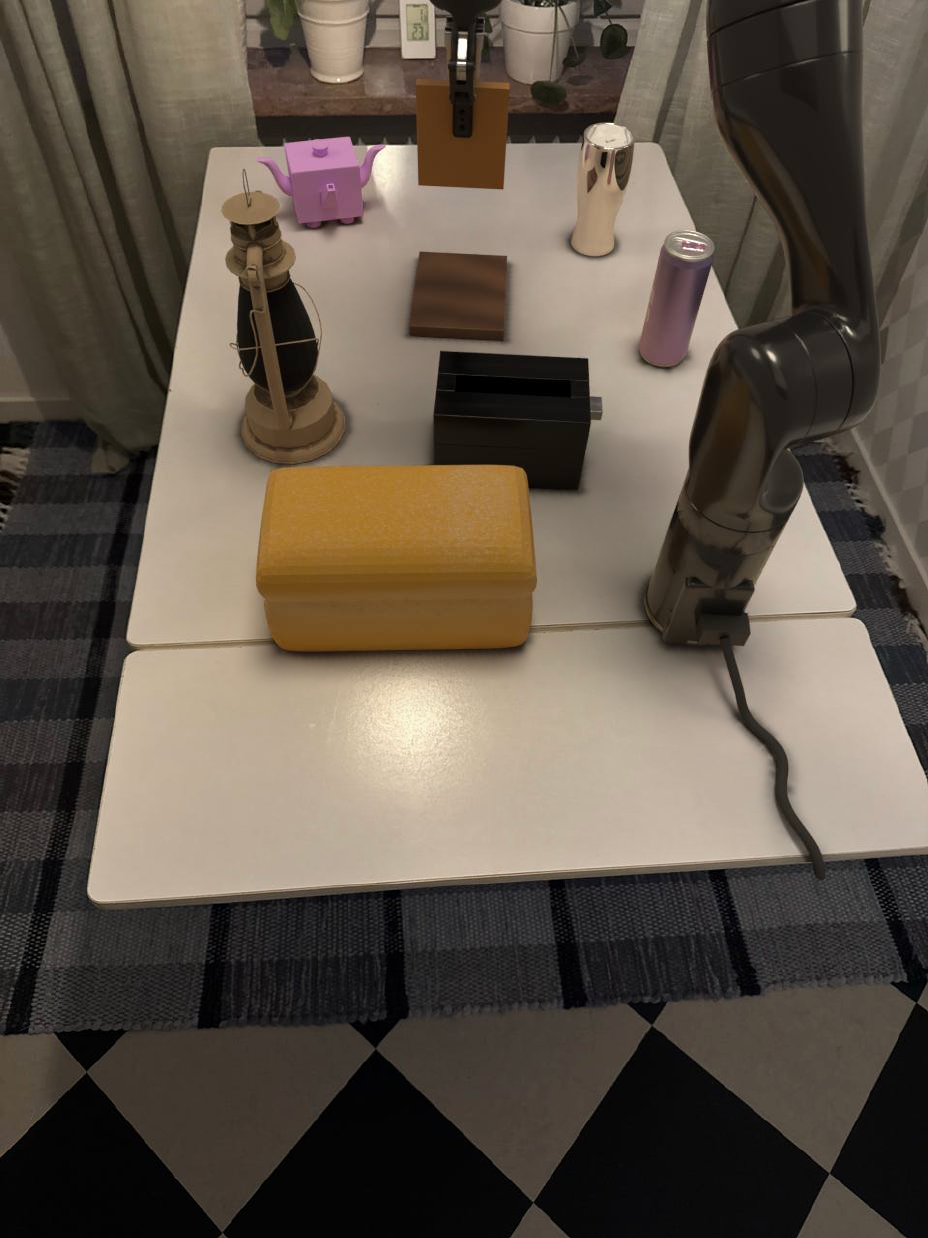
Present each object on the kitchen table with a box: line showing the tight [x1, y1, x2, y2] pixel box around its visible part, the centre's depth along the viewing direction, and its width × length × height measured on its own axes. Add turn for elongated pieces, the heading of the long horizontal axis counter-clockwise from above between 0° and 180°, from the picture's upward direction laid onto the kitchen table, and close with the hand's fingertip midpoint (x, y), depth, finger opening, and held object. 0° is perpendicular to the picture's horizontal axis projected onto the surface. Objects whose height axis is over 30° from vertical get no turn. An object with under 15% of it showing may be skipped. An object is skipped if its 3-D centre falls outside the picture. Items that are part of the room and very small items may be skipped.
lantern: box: [220, 168, 346, 465], centre depth 87 cm, size 14×12×30 cm
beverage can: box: [638, 229, 716, 368], centre depth 101 cm, size 6×6×15 cm
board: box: [408, 251, 508, 341], centre depth 112 cm, size 16×12×2 cm
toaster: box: [432, 350, 604, 491], centre depth 93 cm, size 10×18×10 cm, turn 87°
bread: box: [255, 464, 538, 652], centre depth 80 cm, size 24×13×15 cm, turn 92°
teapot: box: [254, 136, 387, 229], centre depth 119 cm, size 18×13×10 cm
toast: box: [415, 78, 511, 190], centre depth 96 cm, size 1×10×11 cm, turn 87°
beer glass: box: [570, 122, 636, 257], centre depth 114 cm, size 7×7×15 cm
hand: (462, 130), depth 95 cm, fingers closed on toast, 1 cm apart
